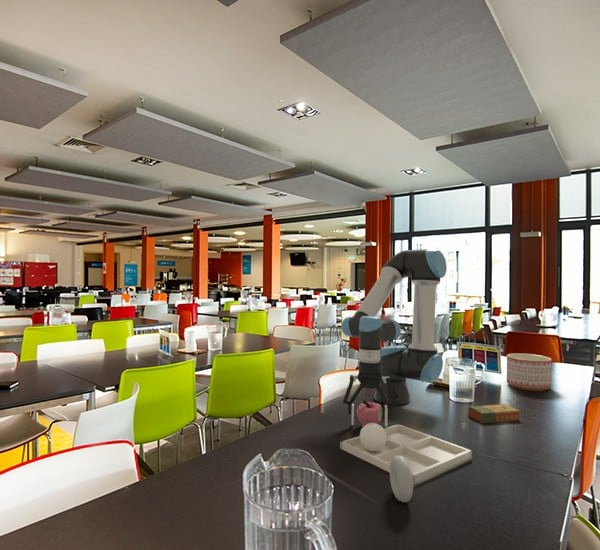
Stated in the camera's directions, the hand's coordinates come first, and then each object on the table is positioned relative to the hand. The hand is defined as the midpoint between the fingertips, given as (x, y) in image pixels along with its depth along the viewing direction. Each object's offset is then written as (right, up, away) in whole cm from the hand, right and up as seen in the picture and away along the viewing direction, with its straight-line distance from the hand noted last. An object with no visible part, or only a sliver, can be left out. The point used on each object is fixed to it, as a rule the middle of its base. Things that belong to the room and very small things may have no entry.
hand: (369, 424), depth 145 cm
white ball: (-2, -1, -20) cm, 20 cm away
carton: (+49, -3, +13) cm, 51 cm away
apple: (0, -2, 0) cm, 2 cm away
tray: (+7, -1, -21) cm, 22 cm away
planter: (+88, -3, +60) cm, 106 cm away
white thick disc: (0, -1, -46) cm, 46 cm away
